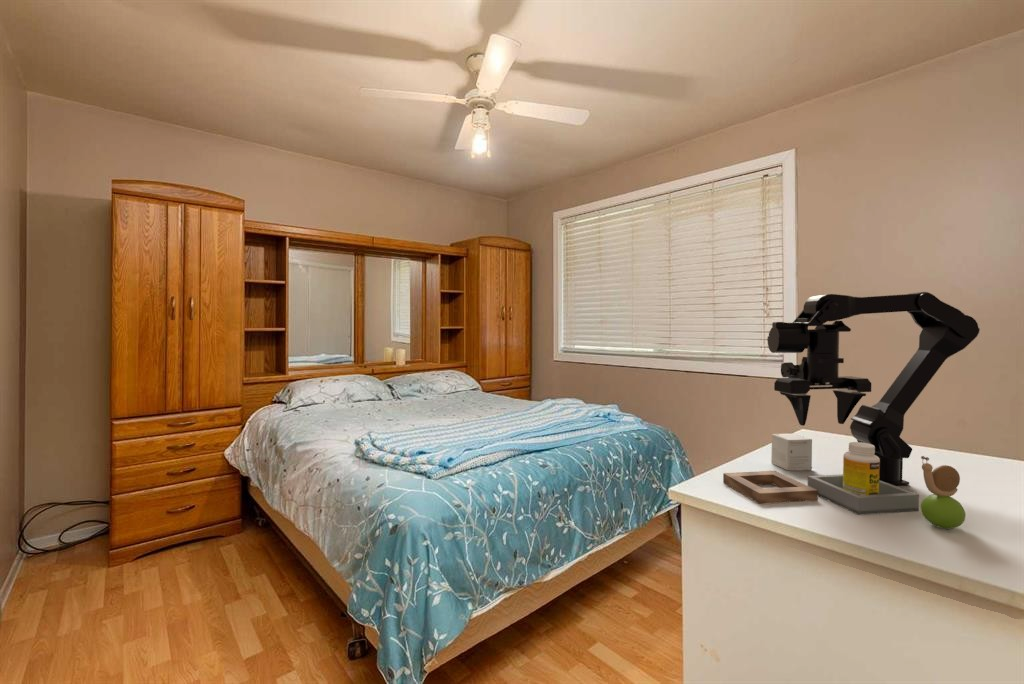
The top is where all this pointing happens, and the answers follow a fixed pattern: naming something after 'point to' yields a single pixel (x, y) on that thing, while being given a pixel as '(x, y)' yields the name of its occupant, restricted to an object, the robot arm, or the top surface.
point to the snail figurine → (942, 496)
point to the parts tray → (865, 496)
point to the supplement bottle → (861, 469)
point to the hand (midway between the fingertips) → (821, 424)
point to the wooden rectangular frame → (786, 492)
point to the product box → (791, 451)
